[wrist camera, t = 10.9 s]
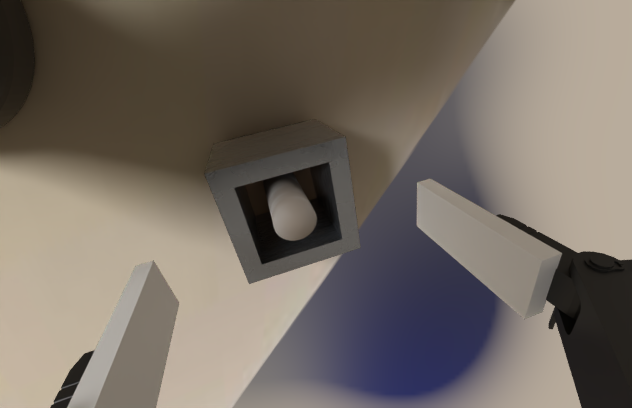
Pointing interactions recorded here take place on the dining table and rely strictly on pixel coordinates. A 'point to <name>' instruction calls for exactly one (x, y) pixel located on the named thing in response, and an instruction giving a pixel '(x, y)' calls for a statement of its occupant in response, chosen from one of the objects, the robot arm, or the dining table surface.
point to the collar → (273, 160)
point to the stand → (286, 203)
